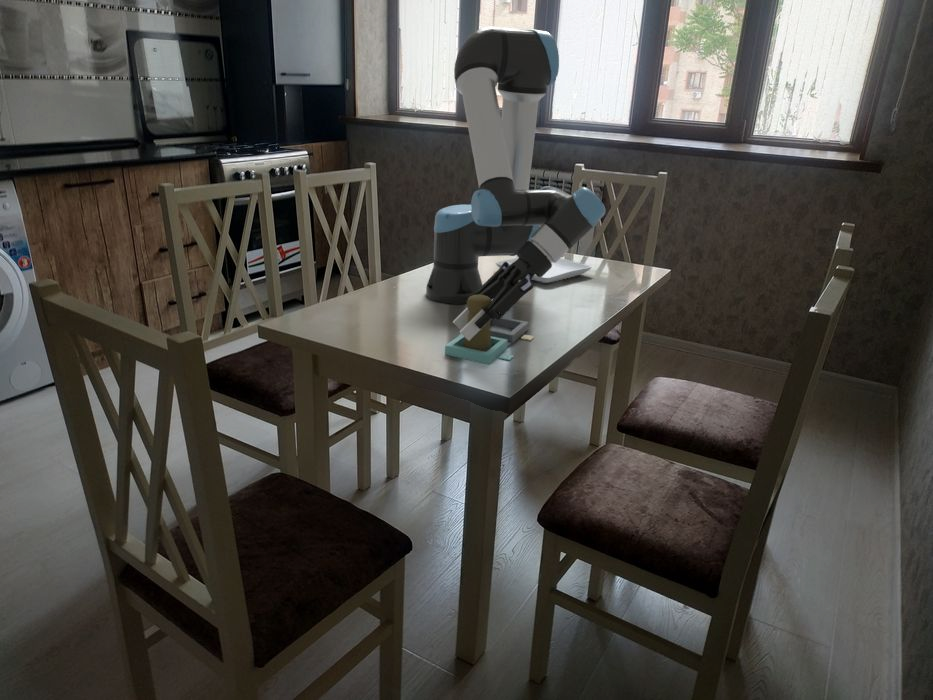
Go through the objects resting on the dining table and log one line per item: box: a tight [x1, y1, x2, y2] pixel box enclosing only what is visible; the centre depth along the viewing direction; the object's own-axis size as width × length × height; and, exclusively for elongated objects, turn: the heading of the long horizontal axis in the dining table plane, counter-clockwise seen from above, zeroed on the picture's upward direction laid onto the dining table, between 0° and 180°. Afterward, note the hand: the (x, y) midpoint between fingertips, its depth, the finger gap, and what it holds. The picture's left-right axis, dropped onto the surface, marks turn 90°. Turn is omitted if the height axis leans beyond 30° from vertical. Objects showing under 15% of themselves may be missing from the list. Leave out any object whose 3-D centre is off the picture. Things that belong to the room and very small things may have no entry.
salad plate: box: [495, 256, 592, 284], centre depth 200 cm, size 21×21×3 cm
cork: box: [462, 295, 492, 352], centre depth 138 cm, size 6×6×11 cm
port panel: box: [444, 316, 536, 365], centre depth 145 cm, size 13×23×2 cm, turn 155°
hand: (460, 331), depth 138 cm, fingers closed on cork, 5 cm apart
